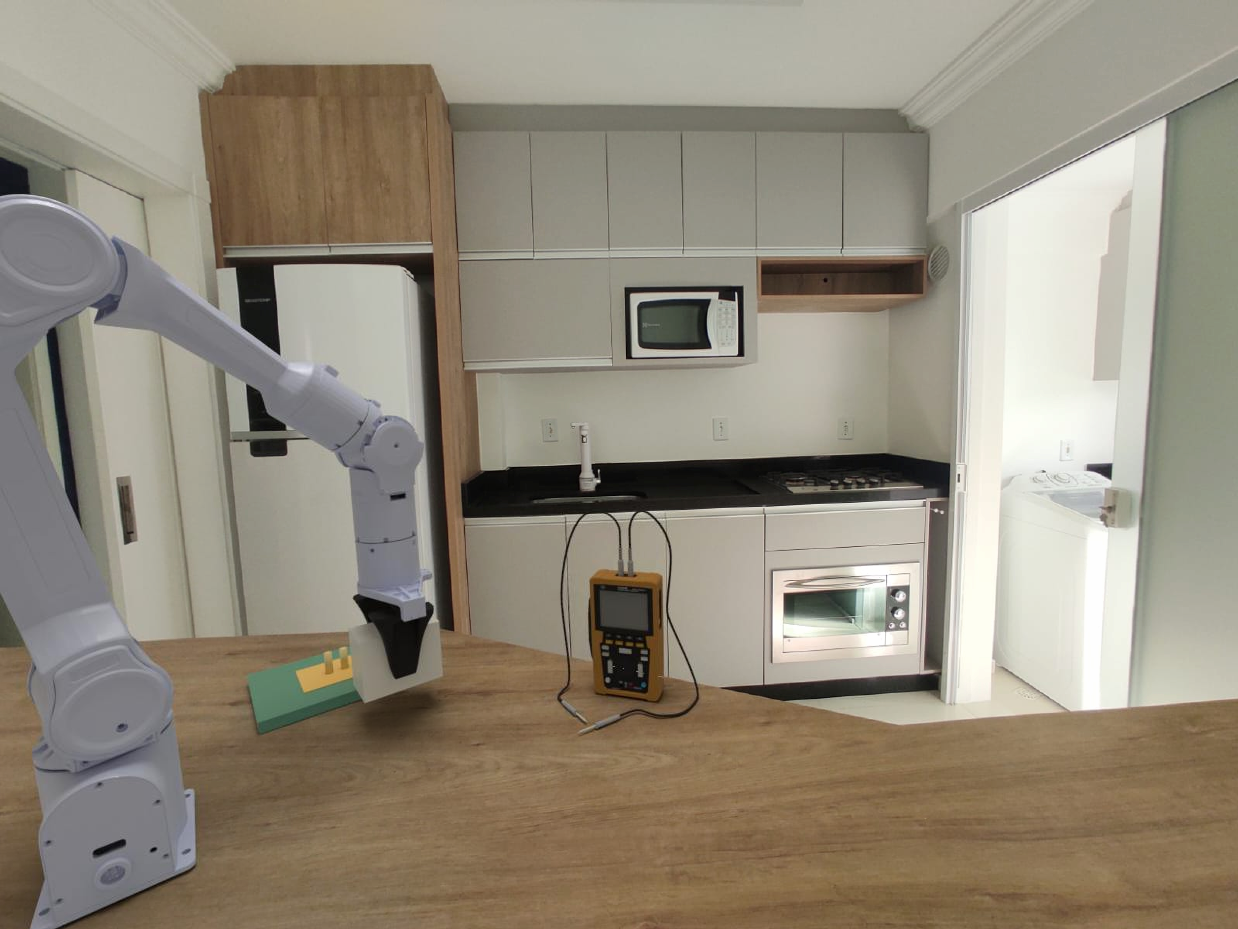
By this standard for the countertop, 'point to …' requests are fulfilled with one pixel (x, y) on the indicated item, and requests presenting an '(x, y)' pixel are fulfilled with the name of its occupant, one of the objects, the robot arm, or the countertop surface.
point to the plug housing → (374, 667)
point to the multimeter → (626, 631)
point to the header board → (302, 689)
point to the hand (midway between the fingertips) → (397, 665)
